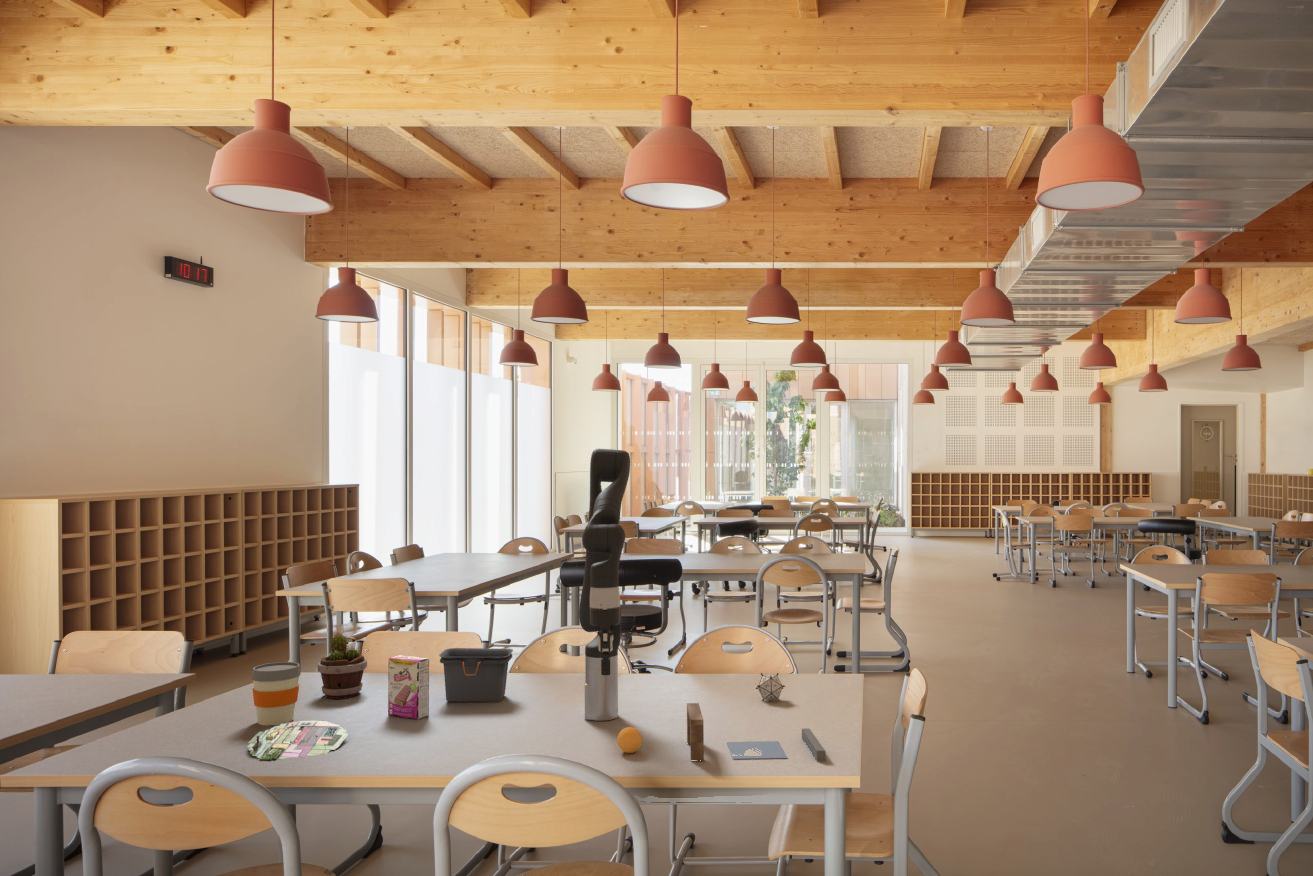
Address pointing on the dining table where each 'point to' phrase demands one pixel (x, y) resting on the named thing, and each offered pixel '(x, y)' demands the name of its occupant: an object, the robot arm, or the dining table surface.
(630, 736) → the ball
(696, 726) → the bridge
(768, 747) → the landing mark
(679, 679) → the dining table surface
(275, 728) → the city model
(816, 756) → the stopper
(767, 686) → the game die
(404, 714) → the candy bar box
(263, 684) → the reusable coffee cup
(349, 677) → the flowerpot
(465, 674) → the storage bin
